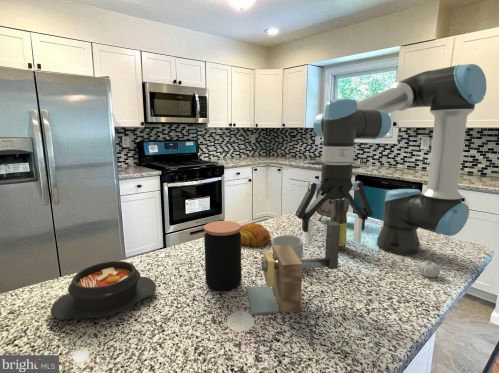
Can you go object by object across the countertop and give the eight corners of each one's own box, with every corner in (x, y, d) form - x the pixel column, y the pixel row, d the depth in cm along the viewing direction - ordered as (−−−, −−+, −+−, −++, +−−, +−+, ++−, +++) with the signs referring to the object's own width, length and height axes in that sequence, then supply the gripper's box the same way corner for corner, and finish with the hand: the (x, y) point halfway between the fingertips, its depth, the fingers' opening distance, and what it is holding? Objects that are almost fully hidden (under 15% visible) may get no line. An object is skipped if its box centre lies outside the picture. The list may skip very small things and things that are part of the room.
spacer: (268, 273, 81) (269, 249, 79) (273, 286, 74) (274, 261, 73) (263, 273, 80) (263, 250, 79) (267, 287, 74) (267, 261, 72)
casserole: (48, 340, 63) (43, 305, 62) (54, 298, 79) (50, 269, 77) (163, 306, 76) (162, 276, 74) (149, 275, 91) (147, 250, 90)
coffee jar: (246, 277, 90) (246, 222, 87) (233, 296, 80) (232, 234, 77) (215, 272, 93) (213, 219, 90) (199, 289, 83) (196, 230, 80)
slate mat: (270, 287, 84) (270, 285, 84) (279, 313, 73) (279, 310, 73) (246, 289, 84) (246, 287, 83) (251, 315, 72) (251, 312, 72)
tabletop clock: (314, 220, 147) (316, 172, 142) (322, 216, 154) (325, 170, 149) (342, 227, 138) (345, 175, 133) (349, 222, 145) (352, 173, 140)
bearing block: (288, 286, 85) (290, 244, 82) (300, 311, 73) (302, 263, 71) (272, 287, 84) (272, 245, 82) (281, 312, 73) (282, 264, 70)
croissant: (228, 245, 121) (225, 227, 119) (255, 232, 131) (253, 215, 129) (251, 255, 111) (249, 236, 109) (279, 240, 120) (277, 222, 118)
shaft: (333, 263, 80) (335, 221, 78) (337, 268, 77) (340, 225, 75) (261, 267, 78) (261, 224, 76) (262, 272, 75) (263, 228, 73)
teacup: (302, 270, 95) (303, 247, 94) (269, 266, 97) (269, 244, 96) (303, 252, 109) (303, 232, 107) (274, 250, 111) (274, 230, 109)
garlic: (419, 278, 90) (421, 262, 89) (416, 270, 95) (418, 255, 94) (441, 281, 88) (444, 265, 87) (437, 273, 93) (439, 258, 92)
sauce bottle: (348, 247, 113) (352, 198, 109) (340, 252, 109) (343, 201, 105) (333, 243, 118) (336, 195, 114) (325, 247, 113) (328, 198, 110)
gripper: (293, 165, 68) (290, 249, 72) (392, 164, 71) (384, 245, 75) (285, 162, 75) (283, 238, 79) (375, 161, 78) (369, 235, 82)
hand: (332, 242), depth 77 cm, fingers open, 13 cm apart
